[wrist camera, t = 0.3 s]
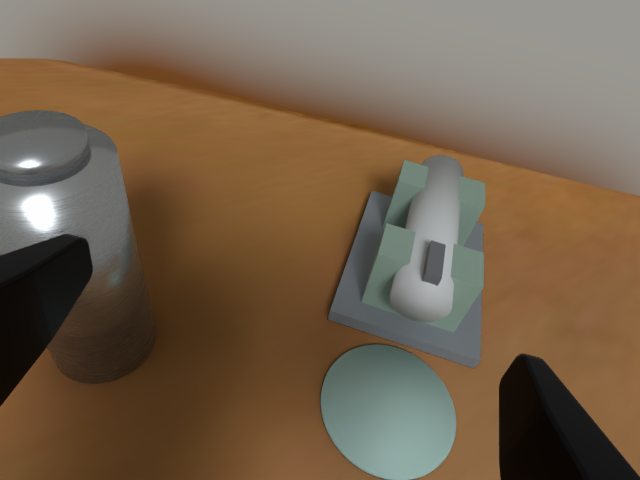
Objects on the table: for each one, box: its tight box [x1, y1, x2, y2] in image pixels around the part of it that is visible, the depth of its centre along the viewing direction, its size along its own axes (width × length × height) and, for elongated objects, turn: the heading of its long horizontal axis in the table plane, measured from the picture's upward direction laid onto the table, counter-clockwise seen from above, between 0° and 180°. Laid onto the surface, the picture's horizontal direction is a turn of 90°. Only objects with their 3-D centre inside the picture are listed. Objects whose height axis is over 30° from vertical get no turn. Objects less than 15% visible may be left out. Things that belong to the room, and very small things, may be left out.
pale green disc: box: [320, 344, 456, 480], centre depth 25 cm, size 8×8×1 cm
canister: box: [0, 110, 156, 384], centre depth 21 cm, size 6×6×14 cm
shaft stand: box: [328, 155, 485, 368], centre depth 31 cm, size 14×10×7 cm
